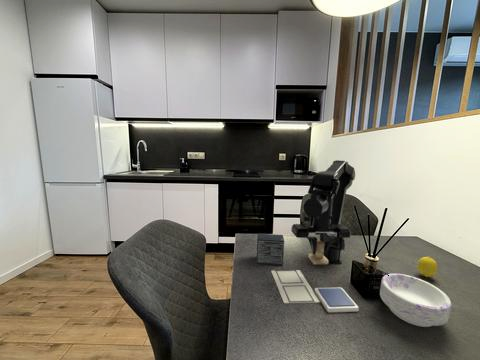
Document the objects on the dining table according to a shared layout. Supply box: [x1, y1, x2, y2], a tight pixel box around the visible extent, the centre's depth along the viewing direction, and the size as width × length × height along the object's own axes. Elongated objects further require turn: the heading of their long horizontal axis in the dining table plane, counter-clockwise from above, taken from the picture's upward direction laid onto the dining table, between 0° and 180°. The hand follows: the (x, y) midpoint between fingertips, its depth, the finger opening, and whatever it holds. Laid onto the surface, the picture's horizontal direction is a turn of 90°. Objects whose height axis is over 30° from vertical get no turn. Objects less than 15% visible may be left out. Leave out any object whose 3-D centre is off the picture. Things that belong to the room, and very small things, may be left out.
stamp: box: [307, 239, 329, 266], centre depth 75 cm, size 5×5×7 cm
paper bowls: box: [379, 273, 453, 328], centre depth 61 cm, size 15×15×8 cm
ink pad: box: [314, 286, 360, 313], centre depth 66 cm, size 9×9×2 cm
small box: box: [255, 233, 285, 267], centre depth 87 cm, size 11×6×10 cm, turn 84°
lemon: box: [417, 256, 438, 278], centre depth 80 cm, size 6×6×8 cm
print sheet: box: [270, 269, 321, 305], centre depth 73 cm, size 11×17×1 cm, turn 5°
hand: (318, 254), depth 75 cm, fingers closed on stamp, 3 cm apart
